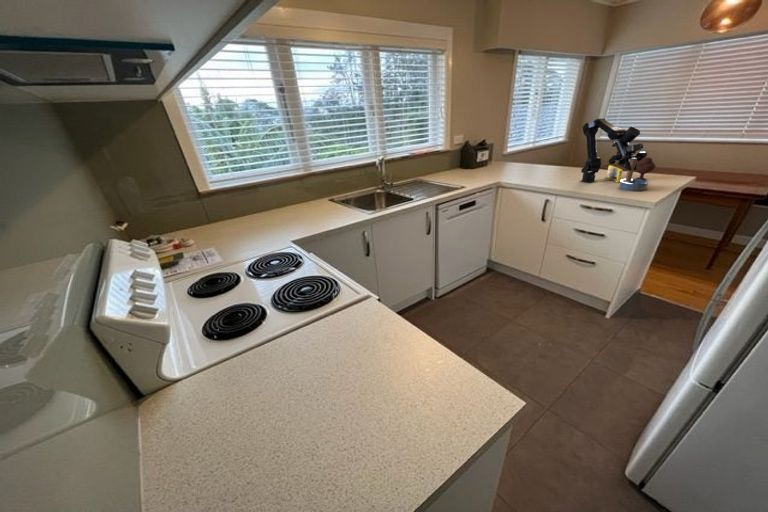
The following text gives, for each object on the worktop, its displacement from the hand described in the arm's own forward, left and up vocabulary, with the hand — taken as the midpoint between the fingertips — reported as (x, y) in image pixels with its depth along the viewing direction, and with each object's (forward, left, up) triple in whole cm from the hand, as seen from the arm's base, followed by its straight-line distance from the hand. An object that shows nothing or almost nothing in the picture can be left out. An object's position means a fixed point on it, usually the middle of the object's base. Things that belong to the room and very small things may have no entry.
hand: (632, 170), depth 170 cm
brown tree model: (-11, +39, -14) cm, 43 cm away
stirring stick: (-1, +1, -7) cm, 7 cm away
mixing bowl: (-3, +13, -14) cm, 19 cm away
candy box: (-23, +29, -14) cm, 40 cm away
